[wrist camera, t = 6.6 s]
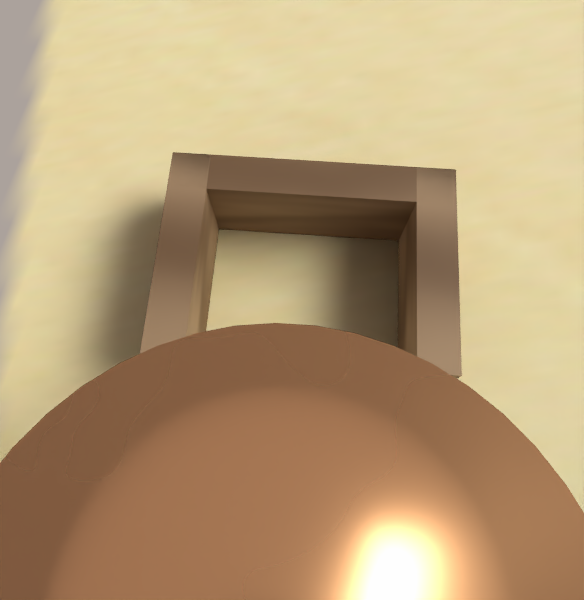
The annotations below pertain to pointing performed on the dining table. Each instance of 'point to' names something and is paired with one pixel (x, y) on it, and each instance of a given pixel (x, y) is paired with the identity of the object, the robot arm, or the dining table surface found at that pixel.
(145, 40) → the dining table surface
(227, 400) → the copper tall rounded piece
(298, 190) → the brown u-shaped block
